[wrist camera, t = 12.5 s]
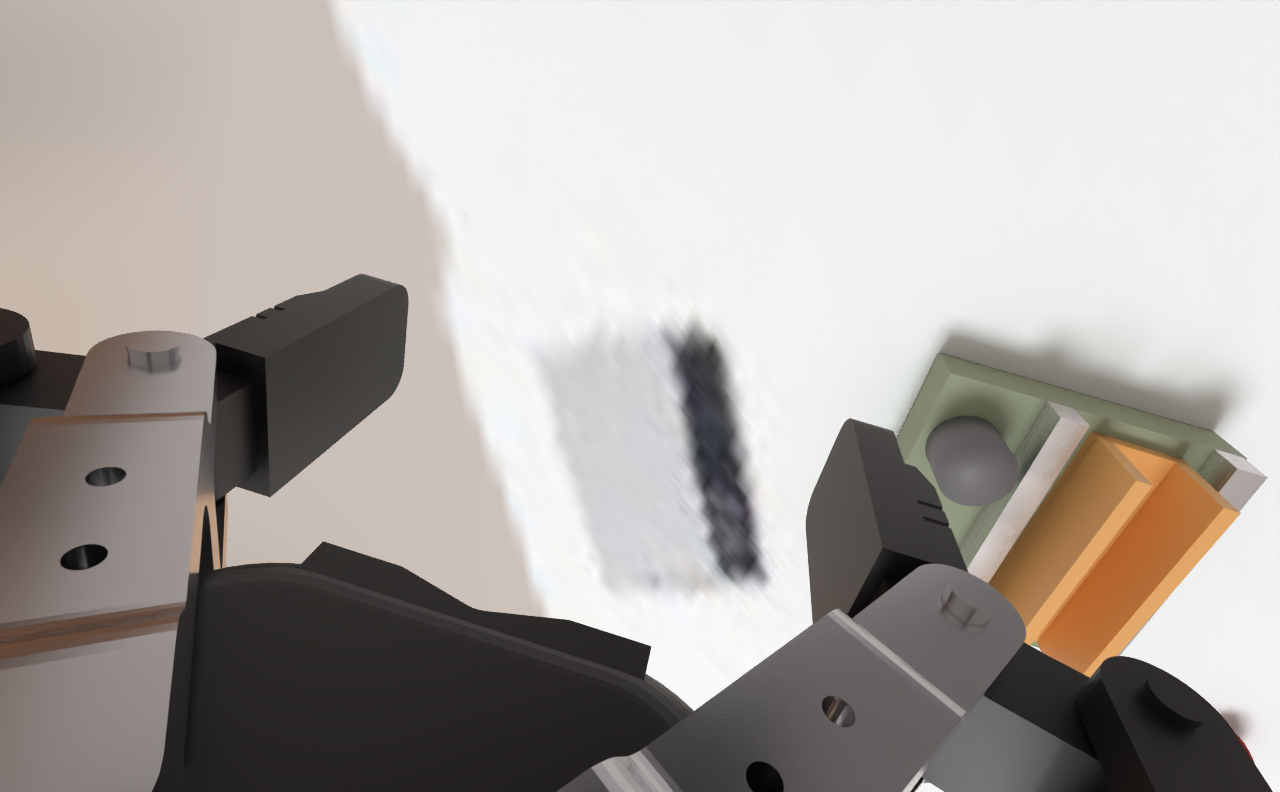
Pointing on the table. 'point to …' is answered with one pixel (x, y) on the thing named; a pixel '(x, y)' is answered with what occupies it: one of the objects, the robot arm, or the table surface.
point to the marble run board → (1014, 434)
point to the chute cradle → (1040, 468)
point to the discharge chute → (1109, 549)
